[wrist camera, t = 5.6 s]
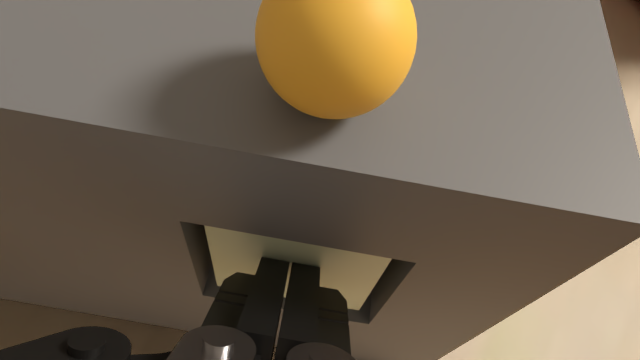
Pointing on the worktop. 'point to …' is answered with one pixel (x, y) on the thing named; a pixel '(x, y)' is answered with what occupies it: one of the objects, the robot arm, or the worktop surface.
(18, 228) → the keypad console
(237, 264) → the key sage
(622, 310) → the worktop surface
